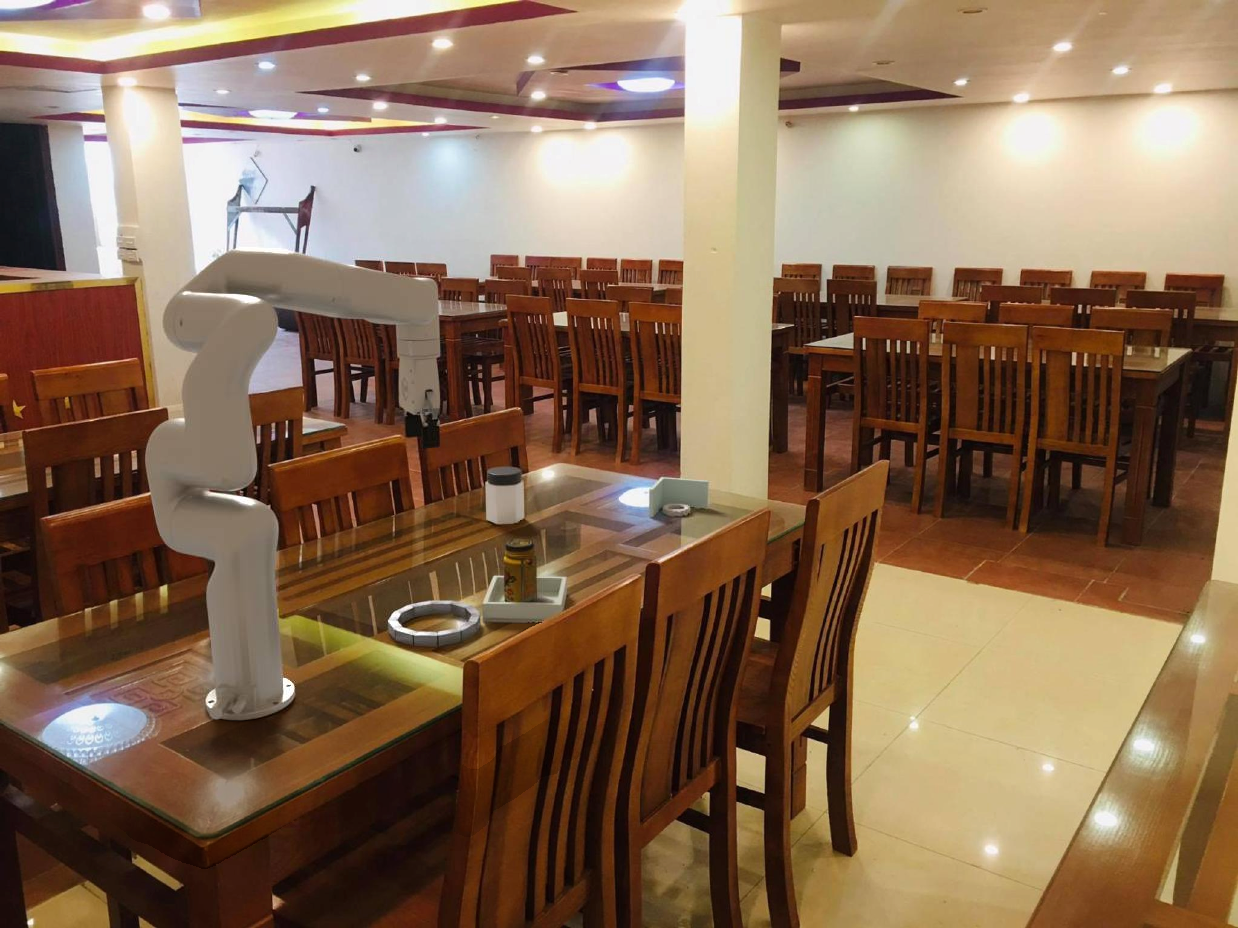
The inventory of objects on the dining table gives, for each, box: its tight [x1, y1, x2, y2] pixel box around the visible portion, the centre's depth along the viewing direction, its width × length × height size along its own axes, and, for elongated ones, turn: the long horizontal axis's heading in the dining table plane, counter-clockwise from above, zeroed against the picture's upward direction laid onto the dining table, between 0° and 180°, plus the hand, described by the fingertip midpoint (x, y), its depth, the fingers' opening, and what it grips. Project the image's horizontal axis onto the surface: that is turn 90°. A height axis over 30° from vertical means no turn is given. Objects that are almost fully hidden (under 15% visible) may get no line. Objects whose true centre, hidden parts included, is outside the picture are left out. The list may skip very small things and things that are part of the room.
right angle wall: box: [648, 476, 710, 518], centre depth 245 cm, size 12×12×8 cm
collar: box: [387, 599, 481, 648], centre depth 177 cm, size 16×16×2 cm
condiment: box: [500, 538, 555, 603], centre depth 185 cm, size 7×8×12 cm
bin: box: [481, 575, 568, 624], centre depth 186 cm, size 14×14×4 cm
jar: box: [485, 466, 525, 525], centre depth 238 cm, size 9×8×12 cm
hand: (422, 442), depth 183 cm, fingers open, 9 cm apart
